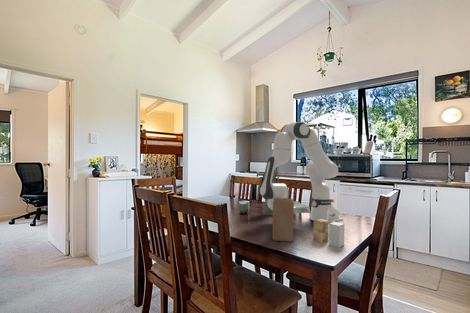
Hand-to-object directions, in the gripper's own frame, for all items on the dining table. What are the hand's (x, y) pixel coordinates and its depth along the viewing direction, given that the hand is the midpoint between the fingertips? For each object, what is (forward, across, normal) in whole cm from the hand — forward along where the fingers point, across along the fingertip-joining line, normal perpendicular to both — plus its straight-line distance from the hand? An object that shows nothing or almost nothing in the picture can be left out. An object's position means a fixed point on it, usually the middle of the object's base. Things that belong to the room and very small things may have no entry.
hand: (302, 212), depth 138 cm
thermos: (-46, +11, +12) cm, 49 cm away
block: (+3, -15, +12) cm, 20 cm away
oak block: (+13, +1, +12) cm, 17 cm away
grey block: (+21, +3, +12) cm, 24 cm away
